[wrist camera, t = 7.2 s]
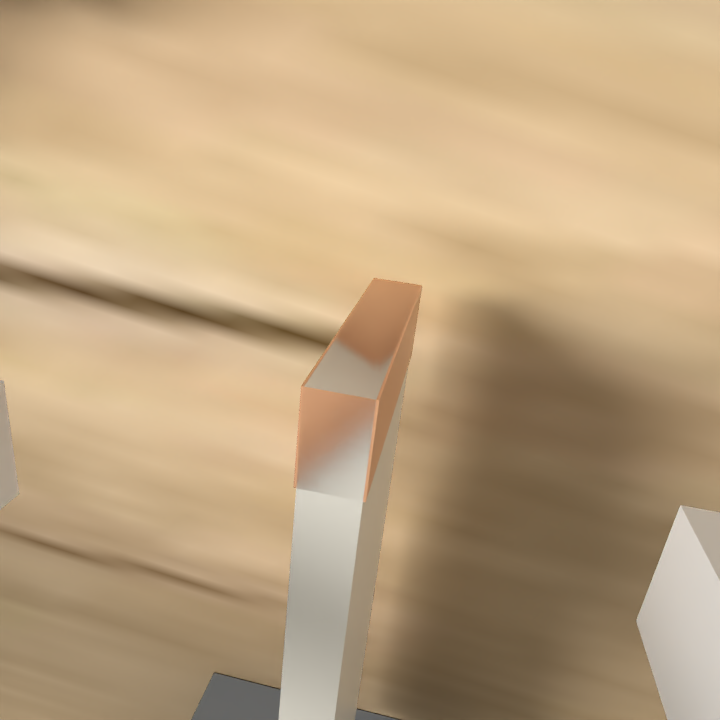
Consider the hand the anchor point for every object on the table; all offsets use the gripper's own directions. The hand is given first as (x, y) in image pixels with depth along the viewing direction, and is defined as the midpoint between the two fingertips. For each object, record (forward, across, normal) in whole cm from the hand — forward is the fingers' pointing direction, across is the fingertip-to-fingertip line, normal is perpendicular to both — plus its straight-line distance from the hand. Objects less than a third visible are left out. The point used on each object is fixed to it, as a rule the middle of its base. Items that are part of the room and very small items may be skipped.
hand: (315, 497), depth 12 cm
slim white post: (+6, +1, -6) cm, 9 cm away
